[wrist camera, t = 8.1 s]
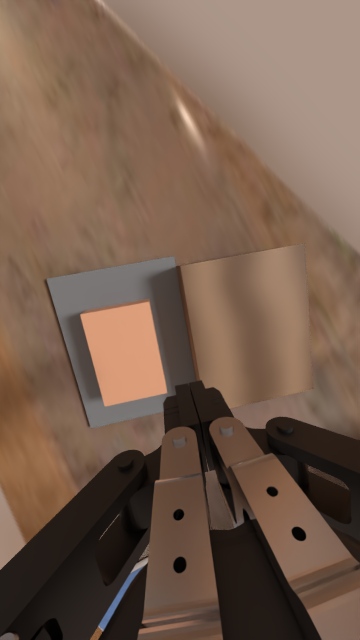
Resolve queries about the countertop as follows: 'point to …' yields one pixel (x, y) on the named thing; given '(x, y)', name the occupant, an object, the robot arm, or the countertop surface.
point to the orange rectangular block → (124, 351)
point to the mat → (119, 288)
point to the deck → (249, 324)
